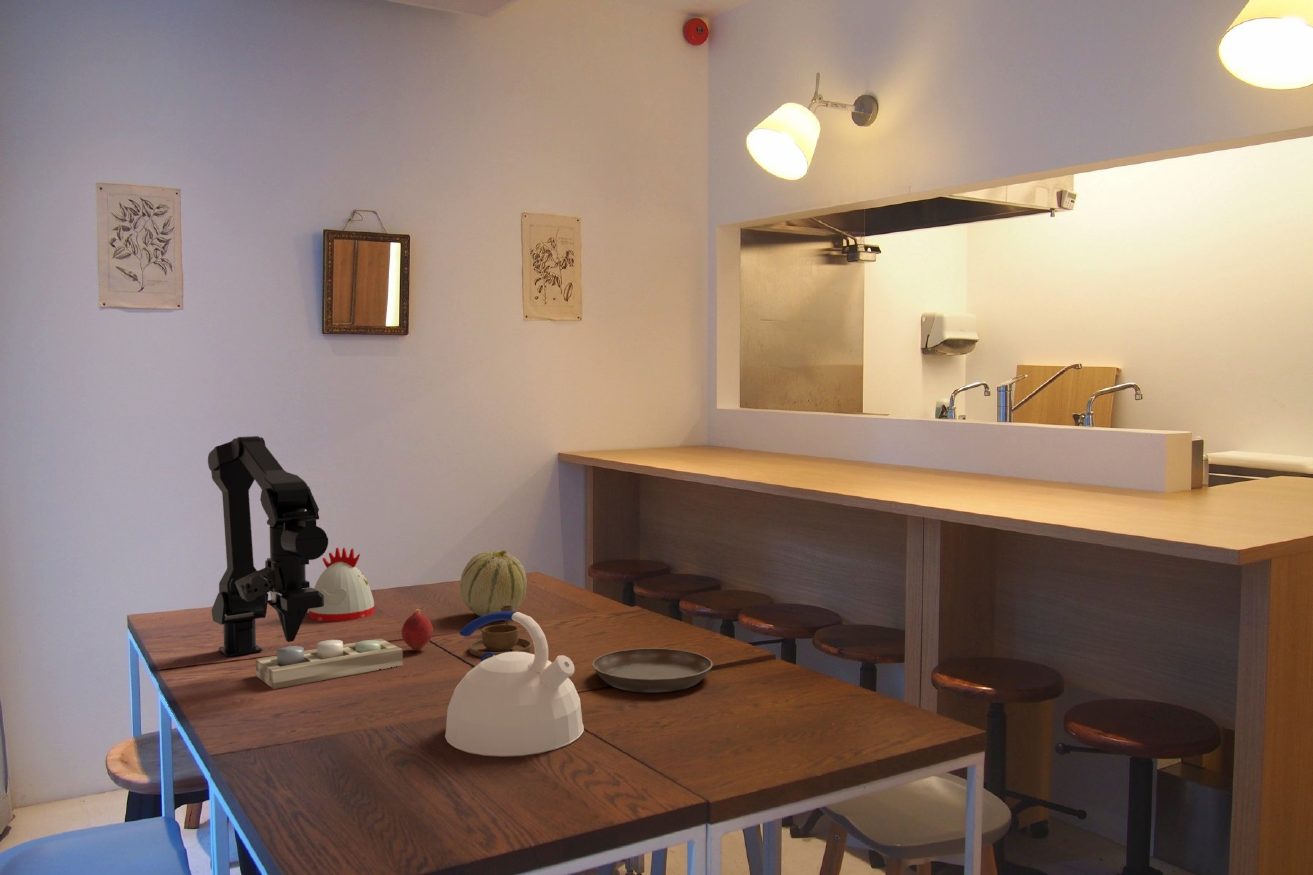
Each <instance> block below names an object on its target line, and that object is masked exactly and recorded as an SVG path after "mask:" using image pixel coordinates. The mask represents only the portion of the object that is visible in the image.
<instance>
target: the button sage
mask: <svg viewBox="0 0 1313 875" xmlns="http://www.w3.org/2000/svg"><path fill="white" fill-rule="evenodd" d="M355 643H356V642H355ZM355 648H356V652H358V653H363V652H369V651H375V650H381V648H380V641H377V640H375V639H370V640H368V639H367V640H361V641H358V642H357V643H356V644H355Z"/></svg>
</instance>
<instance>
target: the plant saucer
mask: <svg viewBox="0 0 1313 875" xmlns="http://www.w3.org/2000/svg"><path fill="white" fill-rule="evenodd" d="M592 667H593V669H594V671H595V673H596V674H597V676H599V677H600V678H601V680H602V681H604V683H606V684H607V685H609V686H611V687H613V688H615V689H618V690H622V691H627V692H633V693H643V694H644V693H645V694H650V693H651V694H653V693H654V694H656V693H657V694H659V693H669V692H671V693H672V692H677V691H681V690H682V691H683V690H686V689H689V688H692V687H695V686H696V685H697V684H699V683H700V682H701V681H702V680H703V679H704V678H705V677H706V676H707V675H708V674H709V672H710V670H711V669H712V667H713V662H712V660H711V659H710V658H708V657H706V656H705V655H702V654H700V653H696V652H692V651H687V650H682V649H681V650H680V649H672V648H671V649H670V648H660V647H659V648H657V647H655V648H652V647H649V648H632V649H624V650H617V651H613V652H608V653H606V654H603V655H599V656H597V658H595V659H594V660H593V661H592Z"/></svg>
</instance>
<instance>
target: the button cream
mask: <svg viewBox="0 0 1313 875" xmlns="http://www.w3.org/2000/svg"><path fill="white" fill-rule="evenodd" d="M343 645H344V642H343V640H339V639H327V640H321V641H319V642H316V649H317V658H318V659H328V658H334V657H340V656H343Z"/></svg>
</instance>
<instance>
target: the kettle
mask: <svg viewBox="0 0 1313 875" xmlns="http://www.w3.org/2000/svg"><path fill="white" fill-rule="evenodd" d="M505 620H508V621H513V622H516V623H519V624H520V625H521V626H522V627H523V628H524V629H525V630H526V631H527V633H528V634H529V636H530V638H531V640H532V643H533V644H532V645H533V648H534V651H535V655H534V654H533V653H529V652H527V653H526V652H510V651H509V652H506V653H502V654H499V655H496V656H495V654H494V653H492V652H491V651H485V652H486V653H485V654H483V655H482V657H480V662H479V663H478V664H477V665H475V666H474V667H473V668H471V669H470V670H469V671H468V672H467V673H466V674H465V675H464V677H462V679H461V680H460V682H459V683H458V684H457V686H456V687H455V689H454V691H453V693H452V696H451V698H450V701H449V703H448V706H447V709H446V710H447V712H446V723H445V724H446V726H445V735H444V738H445V739H446V742H447V743H448V744H449V745H451V746H452V747H453V748H455V749H456V750H459V751H462V752H465V753H468V754H473V755H479V756H484V757H485V756H487V757H503V758H504V757H505V758H506V757H523V756H531V755H537V754H538V755H540V754H544V753H547V752H551V751H555V750H558V749H561V748H564V747H567V746H569V745H570V744H572V743H573V742H575V741H577V740H579V738H581V735H582V734H583V732H585V731H584V730H585V729H584V723H583V715H582V706H581V698H580V696H579V694H578V690H577V689H576V687H575V685H574V683H573V682H572V680H571V679H570V678H569V677H572V676H573V675H574V674H575V665H574V662H573V661H572V660H571V658H570V657H568V656H566V655H563V654H562V655H557V657H556V658H555V660H553V662H552V661H551V660H549V645H548V640H547V638H546V635H545V633H544V631H543V629H542V628H541V626H540V625H539V623H537V621H536V620H534V619H533V618H532V617H531V616H529V615H527V614H524V613H522V612H520V611H517V610H515V611H503V612H495V613H490V614H487V615H483V616H478V618H475V619H473V620H471V621H470V622H468V623H467V624H466V625H465V626H464V627H463V628H462V629H461V630H460V631H459V635H460V636H463V637H469V636H471V635H473V633H474V632H476V631H477V630H478V629H479V628H481V627H482V626H483V627H484V626H485V625H488V624H490V623H492V622H493V623H494V622H498V621H505ZM486 655H490V656H491V657H490V658H485V657H486Z"/></svg>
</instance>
